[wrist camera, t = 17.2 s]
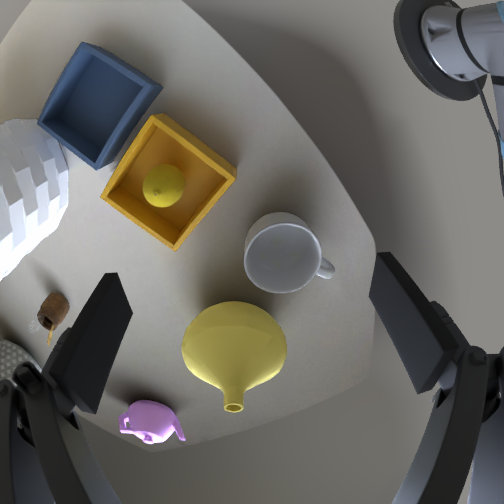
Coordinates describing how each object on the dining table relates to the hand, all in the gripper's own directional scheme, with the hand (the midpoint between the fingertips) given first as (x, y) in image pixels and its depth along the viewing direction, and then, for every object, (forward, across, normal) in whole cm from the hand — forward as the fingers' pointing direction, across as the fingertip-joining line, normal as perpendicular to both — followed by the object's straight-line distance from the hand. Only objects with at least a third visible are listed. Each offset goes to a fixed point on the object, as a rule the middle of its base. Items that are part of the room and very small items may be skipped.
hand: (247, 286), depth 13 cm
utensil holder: (+29, -43, -23) cm, 57 cm away
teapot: (+29, -34, -68) cm, 81 cm away
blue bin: (+29, -20, +13) cm, 37 cm away
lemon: (+28, -11, -1) cm, 30 cm away
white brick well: (+29, -40, +5) cm, 50 cm away
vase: (+29, -4, -30) cm, 42 cm away
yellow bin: (+29, -11, -1) cm, 31 cm away
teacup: (+29, +6, -13) cm, 32 cm away
